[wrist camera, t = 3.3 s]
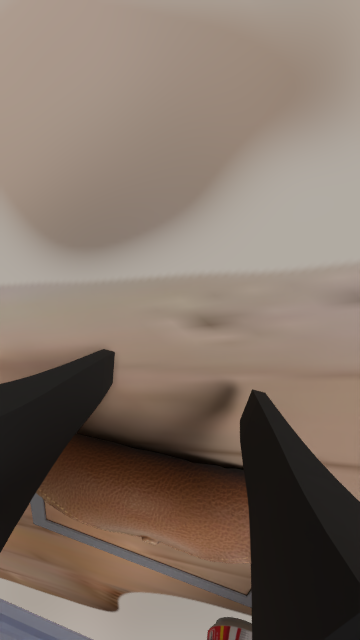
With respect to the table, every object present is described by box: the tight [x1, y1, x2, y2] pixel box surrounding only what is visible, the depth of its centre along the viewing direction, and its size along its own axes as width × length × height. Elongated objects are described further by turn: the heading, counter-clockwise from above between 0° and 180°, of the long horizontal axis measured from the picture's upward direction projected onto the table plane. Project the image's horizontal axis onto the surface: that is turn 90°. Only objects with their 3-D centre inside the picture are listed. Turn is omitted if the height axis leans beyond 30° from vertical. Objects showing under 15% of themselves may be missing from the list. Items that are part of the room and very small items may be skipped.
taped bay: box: [30, 493, 252, 608], centre depth 18 cm, size 24×12×1 cm, turn 80°
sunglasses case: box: [36, 434, 251, 563], centre depth 15 cm, size 18×7×7 cm
